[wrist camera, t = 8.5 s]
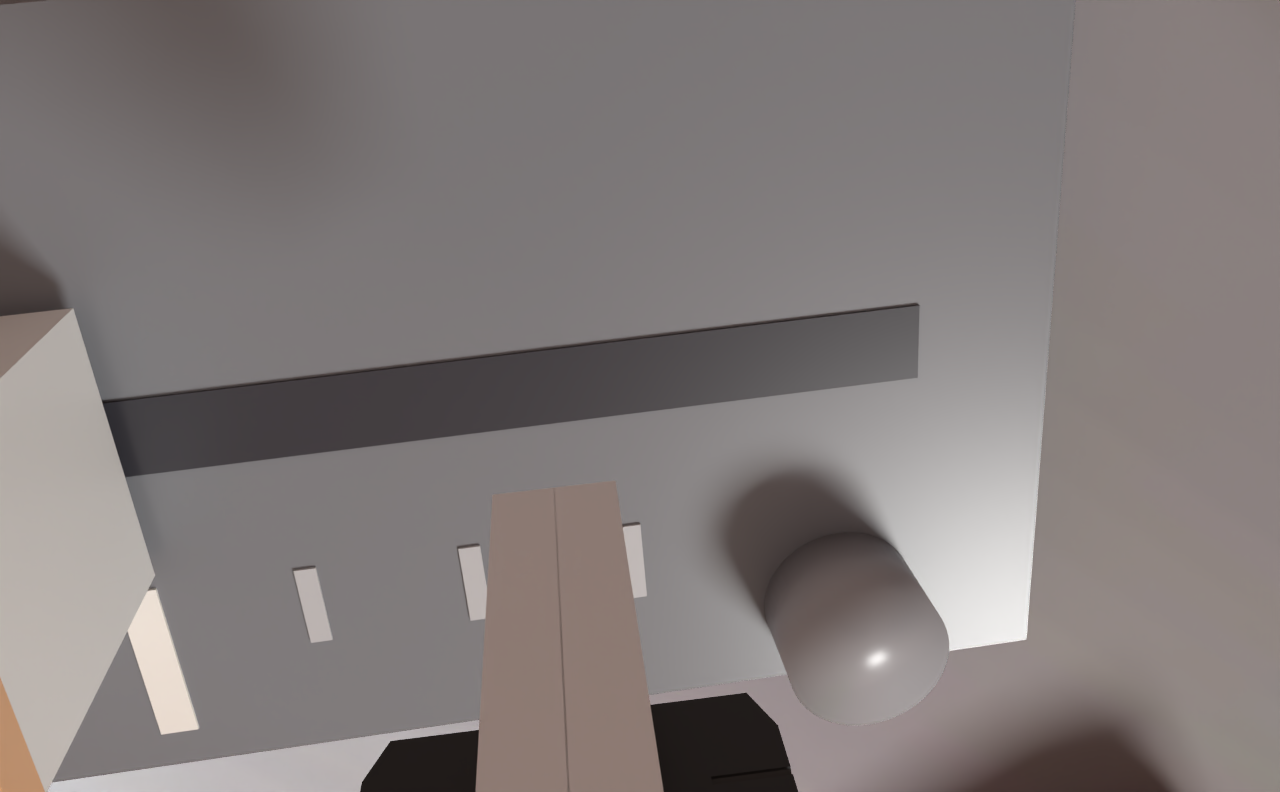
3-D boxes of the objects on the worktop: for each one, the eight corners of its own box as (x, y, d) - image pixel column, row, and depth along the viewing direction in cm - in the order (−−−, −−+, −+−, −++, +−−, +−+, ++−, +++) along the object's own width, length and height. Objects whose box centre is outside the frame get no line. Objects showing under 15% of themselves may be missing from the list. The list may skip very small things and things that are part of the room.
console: (1027, -95, 19) (1152, -94, 16) (986, 585, 25) (1072, 701, 21) (-461, 41, 17) (-714, 76, 14) (-132, 744, 23) (-249, 902, 19)
